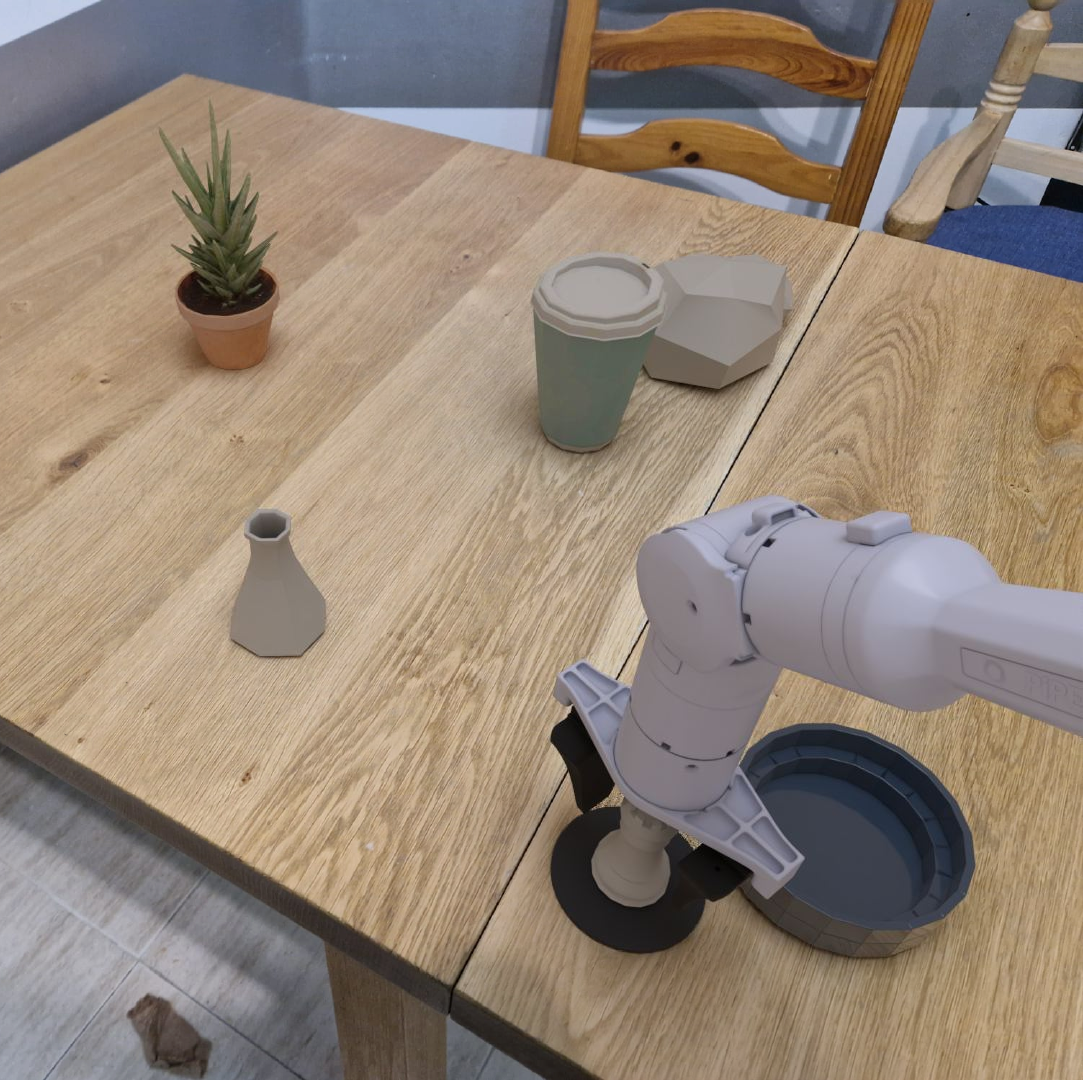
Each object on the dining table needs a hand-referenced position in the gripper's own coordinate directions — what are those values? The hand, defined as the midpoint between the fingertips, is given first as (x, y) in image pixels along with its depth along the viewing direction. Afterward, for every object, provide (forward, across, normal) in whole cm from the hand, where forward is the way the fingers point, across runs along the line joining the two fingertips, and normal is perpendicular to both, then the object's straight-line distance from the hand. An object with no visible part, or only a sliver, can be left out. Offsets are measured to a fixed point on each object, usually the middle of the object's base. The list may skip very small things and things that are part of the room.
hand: (638, 847), depth 57 cm
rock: (+4, +34, -47) cm, 58 cm away
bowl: (+4, -6, -11) cm, 13 cm away
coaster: (+4, 0, 0) cm, 4 cm away
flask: (+4, +29, +6) cm, 30 cm away
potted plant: (+4, +60, -9) cm, 61 cm away
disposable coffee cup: (+4, +32, -27) cm, 42 cm away
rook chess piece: (+3, 0, 0) cm, 3 cm away
